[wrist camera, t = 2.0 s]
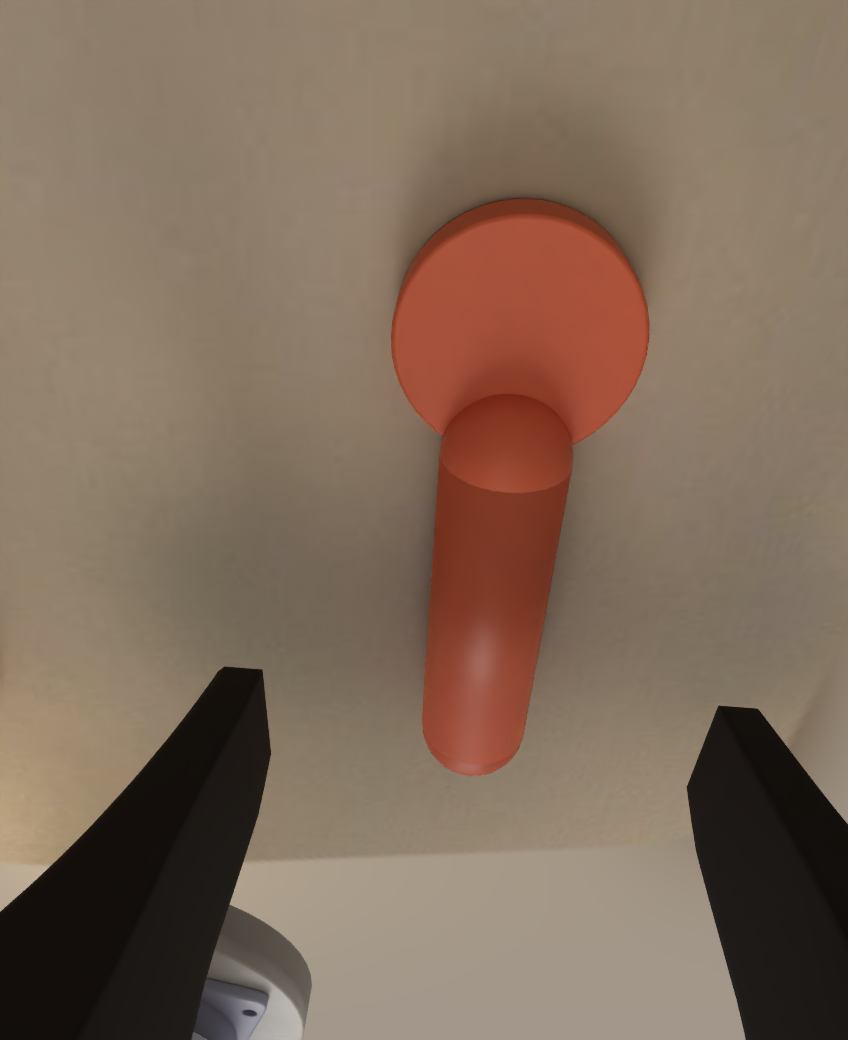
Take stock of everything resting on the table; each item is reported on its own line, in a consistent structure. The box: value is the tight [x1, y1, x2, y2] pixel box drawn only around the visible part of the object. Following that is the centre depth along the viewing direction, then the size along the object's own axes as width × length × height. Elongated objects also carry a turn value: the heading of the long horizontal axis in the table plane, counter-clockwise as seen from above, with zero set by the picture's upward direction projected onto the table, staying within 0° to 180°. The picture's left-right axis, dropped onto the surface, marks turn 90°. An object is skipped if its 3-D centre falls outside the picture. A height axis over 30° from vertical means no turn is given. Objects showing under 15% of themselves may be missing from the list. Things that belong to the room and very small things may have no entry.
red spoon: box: [391, 199, 649, 776], centre depth 13 cm, size 10×4×2 cm, turn 177°
